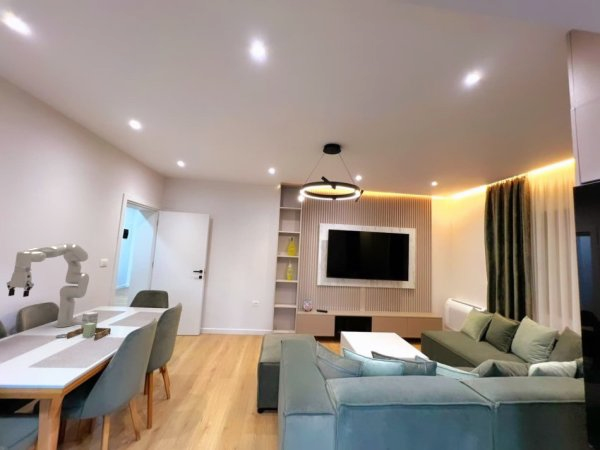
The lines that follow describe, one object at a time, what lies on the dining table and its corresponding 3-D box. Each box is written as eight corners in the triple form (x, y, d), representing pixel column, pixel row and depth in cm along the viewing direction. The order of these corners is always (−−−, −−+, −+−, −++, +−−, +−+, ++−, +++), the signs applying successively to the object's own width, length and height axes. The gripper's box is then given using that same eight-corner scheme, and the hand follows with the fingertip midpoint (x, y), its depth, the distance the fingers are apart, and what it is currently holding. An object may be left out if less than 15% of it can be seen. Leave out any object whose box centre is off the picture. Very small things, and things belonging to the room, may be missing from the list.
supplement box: (80, 329, 214) (82, 313, 216) (90, 327, 221) (92, 311, 222) (86, 331, 212) (88, 314, 213) (96, 328, 218) (98, 312, 220)
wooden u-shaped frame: (83, 332, 209) (84, 326, 209) (110, 333, 209) (110, 328, 209) (66, 338, 194) (67, 332, 194) (95, 340, 194) (96, 334, 194)
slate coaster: (62, 334, 202) (62, 333, 202) (73, 335, 202) (73, 334, 202) (52, 337, 194) (52, 337, 194) (64, 338, 194) (64, 337, 194)
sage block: (87, 335, 203) (89, 322, 204) (94, 335, 203) (96, 323, 204) (82, 337, 198) (84, 324, 199) (89, 337, 198) (91, 324, 199)
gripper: (40, 270, 187) (36, 296, 185) (15, 268, 187) (11, 294, 185) (29, 271, 179) (25, 298, 178) (3, 269, 179) (-1, 296, 178)
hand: (18, 296), depth 182 cm, fingers open, 9 cm apart
